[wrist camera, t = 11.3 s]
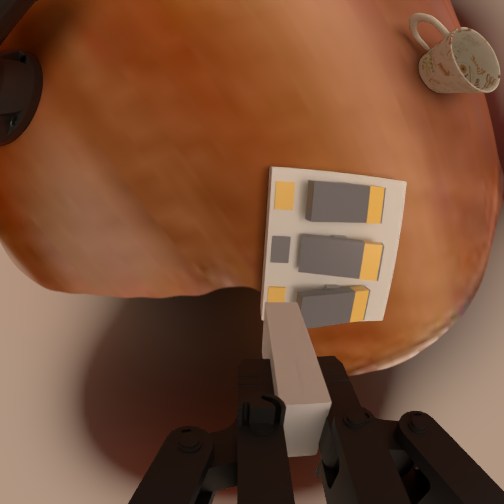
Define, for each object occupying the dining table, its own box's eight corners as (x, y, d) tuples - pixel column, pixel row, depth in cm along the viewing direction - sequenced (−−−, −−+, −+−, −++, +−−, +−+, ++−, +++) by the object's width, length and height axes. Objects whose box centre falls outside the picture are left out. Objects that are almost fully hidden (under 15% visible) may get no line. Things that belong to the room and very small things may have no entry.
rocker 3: (293, 323, 35) (298, 330, 34) (297, 291, 34) (302, 296, 33) (358, 314, 37) (364, 320, 36) (363, 285, 36) (370, 289, 35)
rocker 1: (304, 219, 32) (311, 222, 30) (308, 179, 30) (314, 181, 29) (374, 220, 34) (381, 223, 33) (378, 186, 33) (385, 187, 32)
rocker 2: (298, 268, 35) (298, 272, 34) (302, 233, 34) (301, 236, 33) (376, 276, 34) (378, 281, 32) (381, 242, 33) (384, 245, 31)
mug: (439, 112, 34) (484, 105, 24) (378, 43, 31) (412, 16, 22) (465, 81, 32) (508, 71, 23) (409, 16, 30) (444, -10, 20)
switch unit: (260, 305, 41) (261, 324, 37) (269, 166, 36) (273, 167, 31) (372, 307, 42) (385, 324, 37) (392, 179, 37) (410, 182, 32)
